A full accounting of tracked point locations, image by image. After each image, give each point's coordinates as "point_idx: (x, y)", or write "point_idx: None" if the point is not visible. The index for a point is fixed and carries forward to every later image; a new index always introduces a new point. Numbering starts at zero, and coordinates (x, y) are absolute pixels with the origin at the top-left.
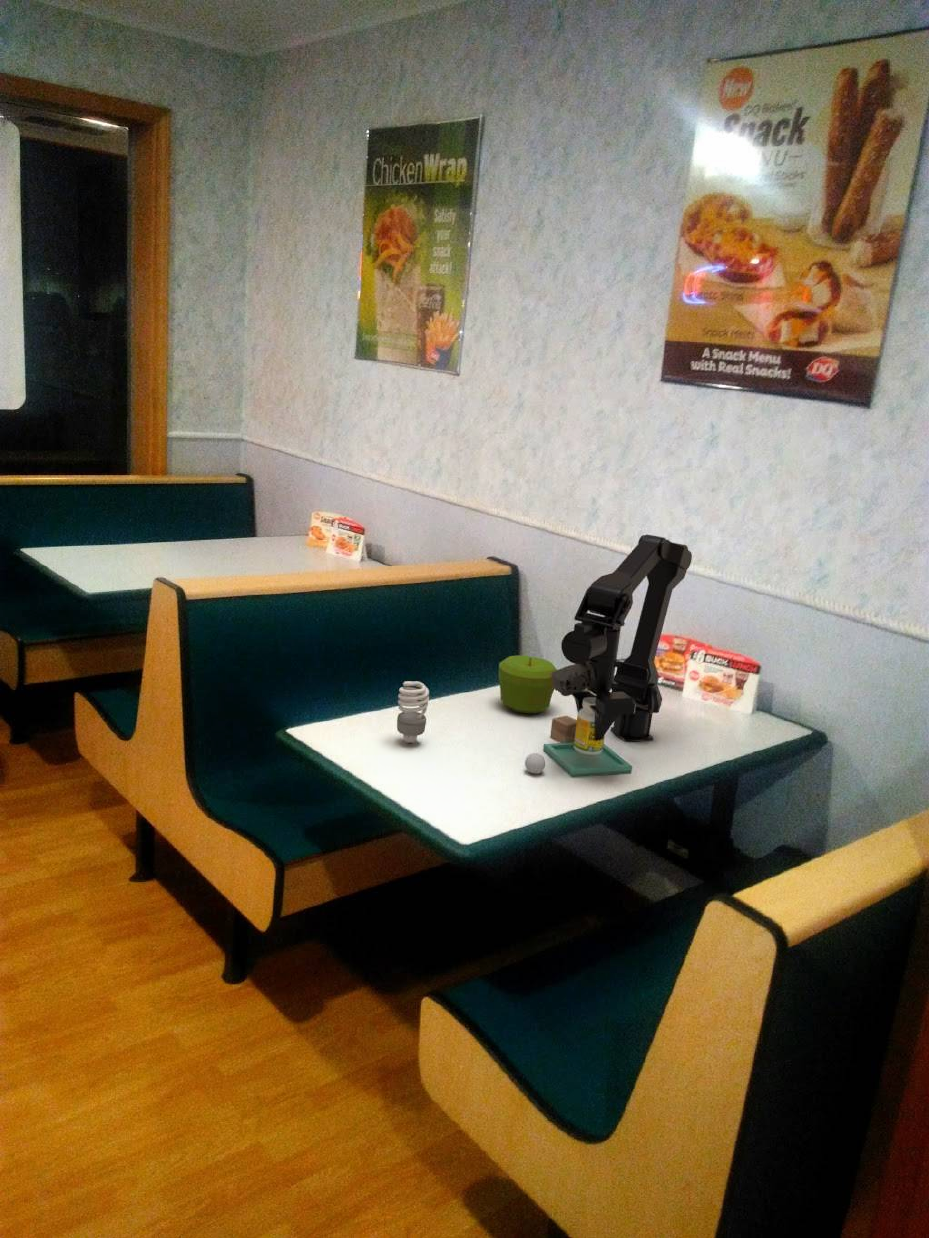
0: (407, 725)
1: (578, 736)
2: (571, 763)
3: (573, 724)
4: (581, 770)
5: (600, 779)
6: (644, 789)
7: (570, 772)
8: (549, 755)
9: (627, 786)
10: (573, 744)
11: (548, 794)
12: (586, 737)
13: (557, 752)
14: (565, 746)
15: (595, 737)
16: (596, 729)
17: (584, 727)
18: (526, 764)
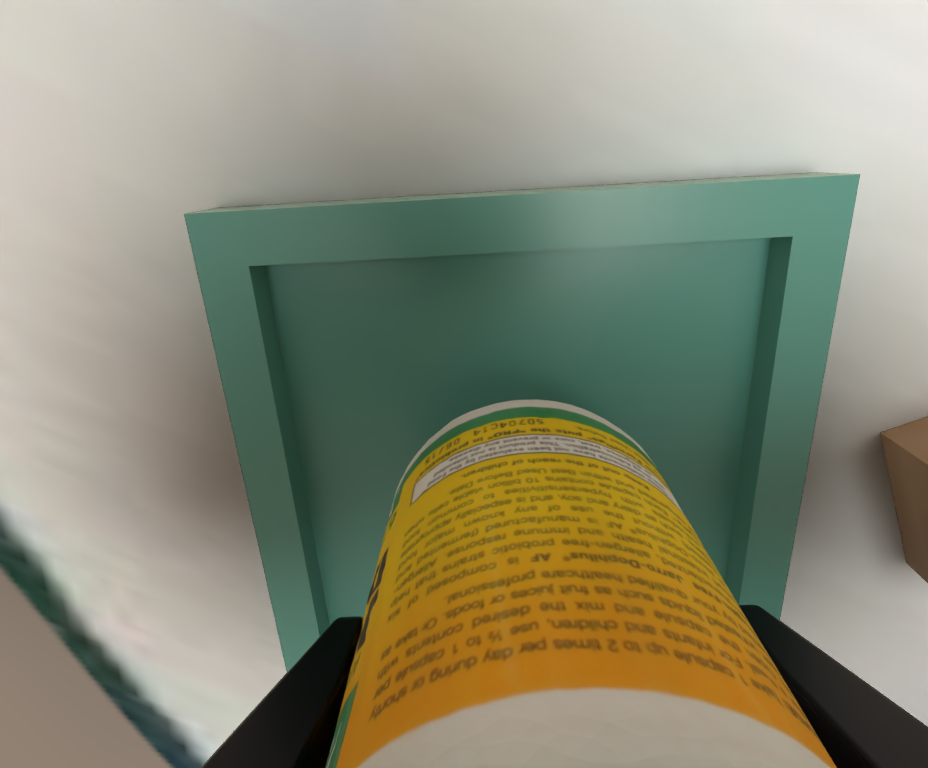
0: None
1: (503, 475)
2: (436, 302)
3: None
4: (210, 304)
5: (197, 425)
6: (65, 626)
7: (242, 208)
8: (678, 181)
9: (97, 551)
10: (757, 464)
11: None
12: (399, 544)
13: (615, 234)
14: (761, 386)
15: (328, 636)
16: (241, 738)
17: (416, 615)
18: None
